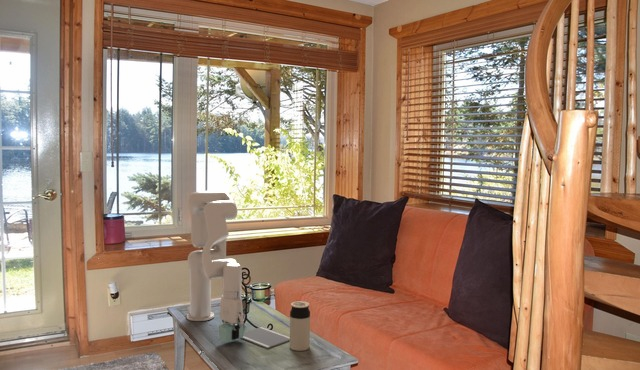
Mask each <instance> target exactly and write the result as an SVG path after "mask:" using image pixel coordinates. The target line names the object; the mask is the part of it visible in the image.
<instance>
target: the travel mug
mask: <svg viewBox="0 0 640 370" xmlns="http://www.w3.org/2000/svg"><path fill="white" fill-rule="evenodd" d="M310 305H311V304H310V303H309V302H307V301H304V300H303V301H301V300H300V301H299V300H298V301H293V302H291V303H290V306H291V310H290V311H289V313H290V314H289V337H290V341H289V348H290V349H291V350H292V351H296V352H302V351H303V352H304V351H306V350H309V349H310V339H311V334H310V332H311V329H310V328H311V311H310V309H309V308H310Z"/></svg>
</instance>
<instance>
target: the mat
mask: <svg viewBox="0 0 640 370" xmlns="http://www.w3.org/2000/svg"><path fill="white" fill-rule="evenodd" d="M240 339H241V340H245V341H247V342H249V343H252V344H255V345H257V346H259V347H261V348H265V349H267V350H269V349H271V348H274V347H277V346H279V345H283V344H285V343H288V342H290V336H288V335H284V334H282V333H279V332H277V331H274V330H271V329H269V328H266V327H263V326H259V327H257V328H253V329H251V330H246V331H243V337H242V338H240Z"/></svg>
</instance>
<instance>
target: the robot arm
mask: <svg viewBox="0 0 640 370" xmlns="http://www.w3.org/2000/svg"><path fill="white" fill-rule="evenodd" d="M187 208H188V210H189V215H190V220H191V221H190V222H191V224H190V238H191V239H190V240H191V245H192V246H193V247H194V248H202V249H197V250H194V251H191V252H189V254H188V256H187V265H188V270H189V271H188V272H189V306H187V307H186V310H188V313H187V314H186V319H187V320H188V321H192V322H205V321H209V320H212V319H213V318H214V317H215V313H214V312H212V280H215V279H221V278H222V295H221V296H220V297H221V298H220V302H219V303H220V304H219V319H220V320H221V321H222V324H226V323H231V324H232V325H233V330H232V340H233V341H236V340H238V338H239V329H240V328H241V326H243V325H245V323H244V321H243V320H244V319H243V313H244V308H243V299H242V279H243V278H242V273H243V271H242V269H243V268H242V265H241V264H240V263H238V261H237V260H236V259H234V258H227V238H228V237H229V229H228V224H227V220H230V221H231V220H234V219H236V218H237V216H238V207H237V204H236V203H235V201H234V199H233V198H232V197H231V196H230V195H229V194H228V193H227V192H226V191H223V190H205V191H203V190H201V191H200V190H199V191H194V192H191V193H190V194H189V195H188V197H187ZM213 247H214V248H213ZM235 324H237V325H236V326H235ZM235 339H236V340H235ZM239 339H240V338H239Z"/></svg>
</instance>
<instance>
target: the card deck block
mask: <svg viewBox="0 0 640 370" xmlns="http://www.w3.org/2000/svg"><path fill="white" fill-rule="evenodd" d="M236 325H237V324H235V326H236ZM244 325H245V324H244ZM244 325H243V326H241V328H240V329H239V338H238V339H241V338H242V337H243V332H245V331H244V327H245V326H244ZM218 327H219V328H218V340H219V341H220V342H221V341H222V342H223V343H226V344H227V343H230V342H233V341H236V340H238V339H235V340H232V330H233V325H232V324H231V323H226V324H223V323H222V324H219V325H218Z"/></svg>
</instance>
